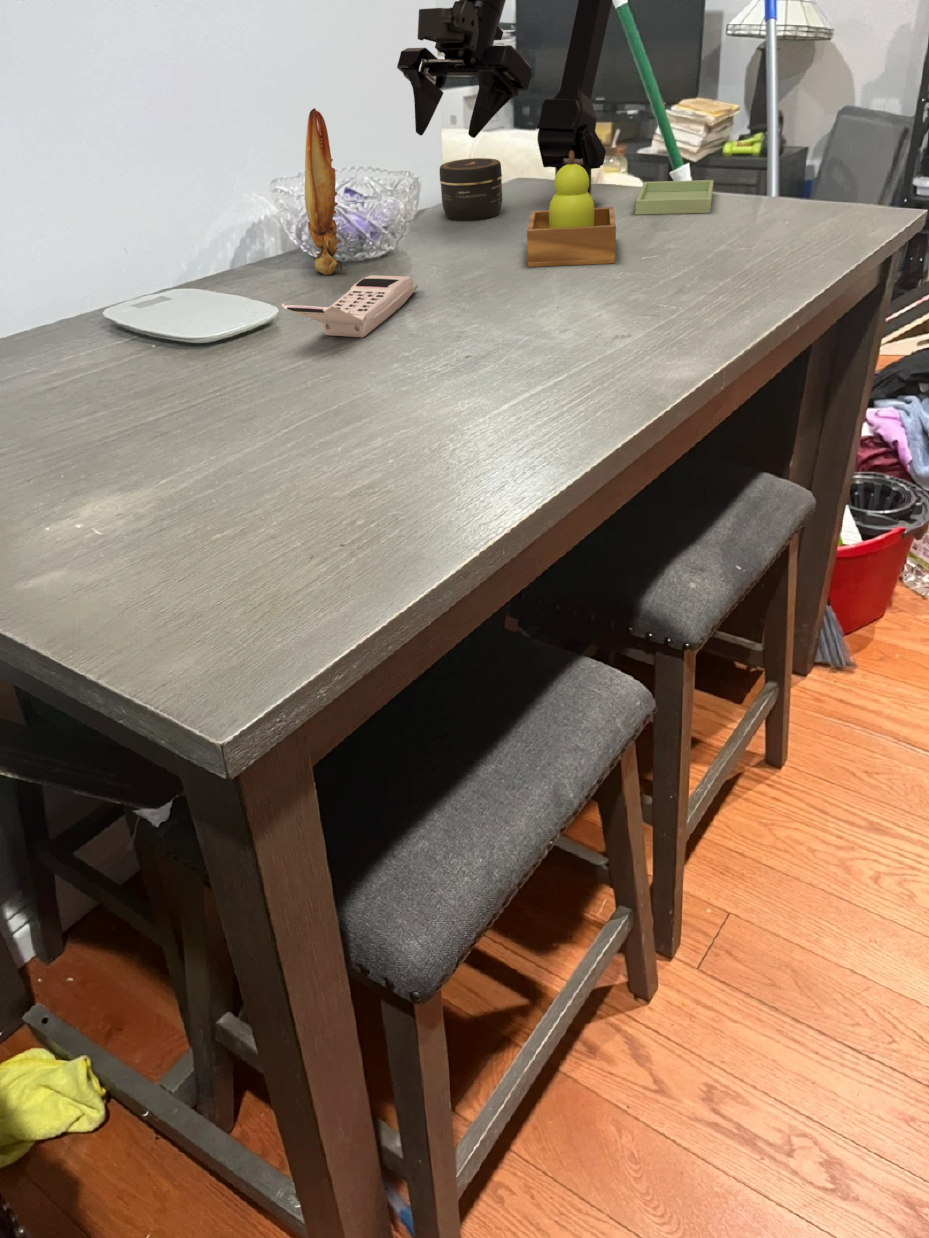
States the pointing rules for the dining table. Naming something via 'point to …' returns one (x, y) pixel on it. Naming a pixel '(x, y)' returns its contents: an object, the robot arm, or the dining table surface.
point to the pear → (571, 198)
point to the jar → (471, 188)
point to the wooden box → (571, 241)
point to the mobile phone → (361, 306)
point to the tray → (675, 197)
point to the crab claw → (320, 193)
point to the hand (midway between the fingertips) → (444, 135)
